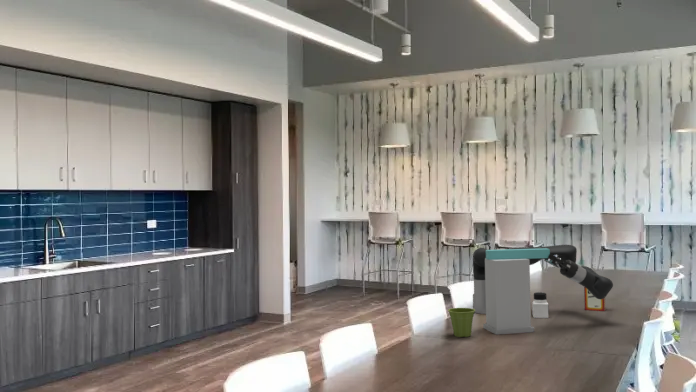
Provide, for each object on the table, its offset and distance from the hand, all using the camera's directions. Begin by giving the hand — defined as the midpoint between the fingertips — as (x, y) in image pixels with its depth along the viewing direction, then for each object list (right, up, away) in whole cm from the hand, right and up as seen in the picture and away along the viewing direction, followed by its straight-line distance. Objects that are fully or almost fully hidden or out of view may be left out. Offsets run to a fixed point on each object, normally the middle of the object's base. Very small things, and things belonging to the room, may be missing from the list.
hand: (544, 254), depth 288 cm
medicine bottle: (+6, -33, +25) cm, 42 cm away
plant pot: (-40, -34, -12) cm, 54 cm away
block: (-13, -1, -2) cm, 13 cm away
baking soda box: (+39, -32, +41) cm, 65 cm away
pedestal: (-17, -34, -3) cm, 38 cm away
